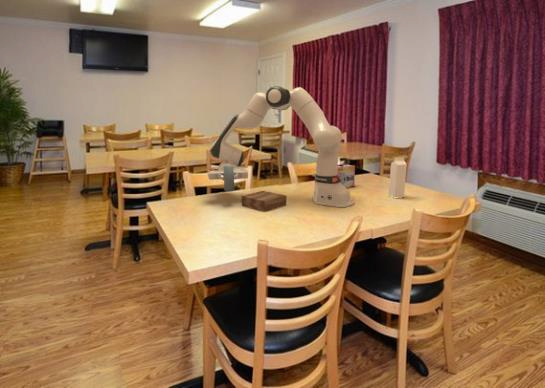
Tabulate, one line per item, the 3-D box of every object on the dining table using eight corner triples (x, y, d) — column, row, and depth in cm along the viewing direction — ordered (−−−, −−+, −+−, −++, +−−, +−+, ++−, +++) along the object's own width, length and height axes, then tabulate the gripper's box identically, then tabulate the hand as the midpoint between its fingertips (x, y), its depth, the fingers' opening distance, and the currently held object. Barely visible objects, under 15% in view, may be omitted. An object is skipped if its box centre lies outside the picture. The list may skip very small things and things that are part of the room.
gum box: (347, 184, 248) (348, 163, 245) (356, 186, 242) (357, 165, 239) (318, 188, 235) (319, 166, 232) (326, 191, 229) (327, 168, 226)
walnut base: (286, 205, 198) (286, 195, 197) (265, 211, 186) (265, 201, 185) (262, 199, 208) (262, 190, 207) (241, 205, 196) (241, 196, 195)
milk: (403, 198, 214) (407, 158, 209) (394, 198, 212) (397, 158, 207) (397, 195, 220) (401, 156, 214) (388, 196, 218) (391, 157, 213)
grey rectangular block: (236, 189, 196) (235, 166, 193) (229, 191, 192) (228, 167, 189) (229, 188, 199) (228, 165, 196) (222, 190, 195) (221, 166, 192)
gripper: (207, 167, 204) (207, 172, 191) (246, 166, 207) (249, 170, 194) (207, 179, 205) (208, 184, 192) (246, 177, 209) (249, 182, 195)
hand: (229, 177), depth 193 cm, fingers closed on grey rectangular block, 5 cm apart
